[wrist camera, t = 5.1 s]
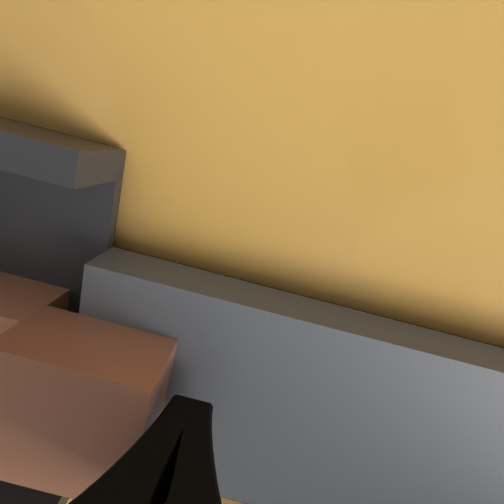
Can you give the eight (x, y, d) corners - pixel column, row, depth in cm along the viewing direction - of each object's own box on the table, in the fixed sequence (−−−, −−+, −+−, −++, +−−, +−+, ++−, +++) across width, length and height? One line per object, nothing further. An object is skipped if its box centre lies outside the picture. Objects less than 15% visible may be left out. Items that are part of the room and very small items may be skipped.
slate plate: (488, 519, 15) (518, 572, 13) (89, 418, 15) (62, 457, 13) (583, 369, 13) (637, 407, 11) (113, 246, 13) (84, 264, 11)
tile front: (155, 444, 13) (127, 513, 10) (35, 413, 13) (-21, 475, 10) (178, 340, 11) (151, 390, 9) (44, 305, 11) (-18, 346, 9)
